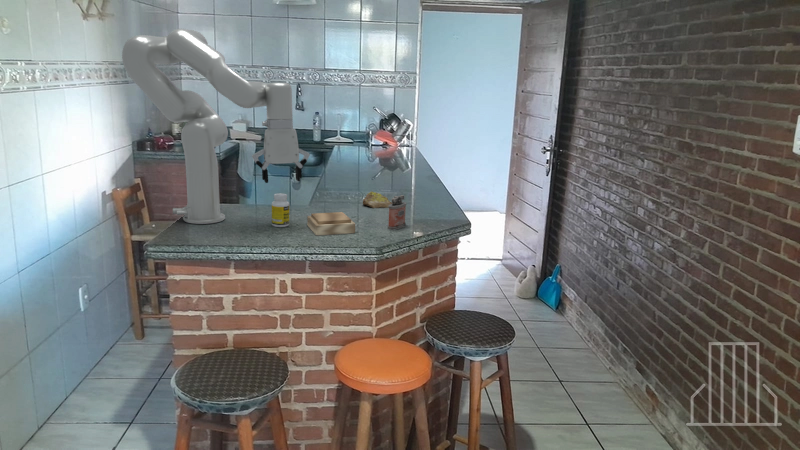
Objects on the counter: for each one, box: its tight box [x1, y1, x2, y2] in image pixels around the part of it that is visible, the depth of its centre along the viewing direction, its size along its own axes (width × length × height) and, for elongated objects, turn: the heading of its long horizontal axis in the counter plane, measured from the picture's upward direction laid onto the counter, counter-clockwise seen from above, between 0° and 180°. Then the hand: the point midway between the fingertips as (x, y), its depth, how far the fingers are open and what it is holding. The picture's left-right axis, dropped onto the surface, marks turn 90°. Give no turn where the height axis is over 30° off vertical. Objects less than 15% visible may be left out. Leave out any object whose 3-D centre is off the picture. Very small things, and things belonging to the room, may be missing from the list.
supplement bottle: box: [271, 192, 290, 228], centre depth 185 cm, size 5×5×10 cm
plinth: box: [306, 211, 356, 236], centre depth 183 cm, size 12×12×4 cm
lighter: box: [387, 194, 407, 231], centre depth 188 cm, size 8×3×10 cm, turn 148°
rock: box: [362, 191, 392, 209], centre depth 218 cm, size 12×7×10 cm
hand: (282, 181), depth 182 cm, fingers open, 9 cm apart
